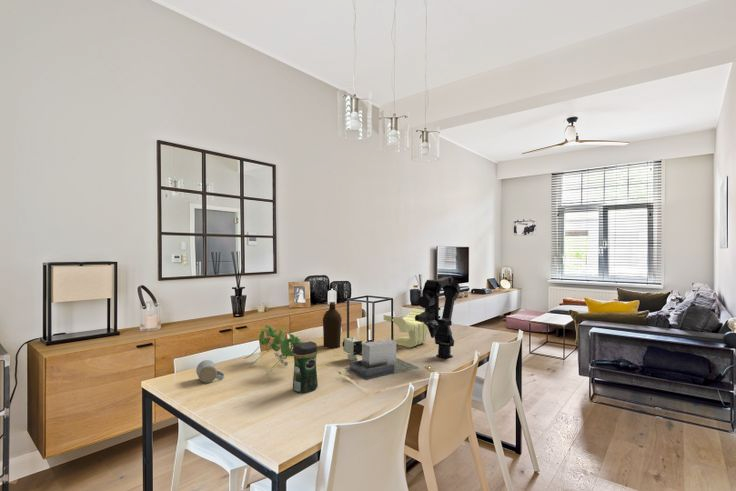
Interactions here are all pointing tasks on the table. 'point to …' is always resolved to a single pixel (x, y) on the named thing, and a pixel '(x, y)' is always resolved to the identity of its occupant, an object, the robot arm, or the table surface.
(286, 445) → the table surface
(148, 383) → the table surface
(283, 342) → the plant cuttings
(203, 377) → the ceramic mug
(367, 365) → the block
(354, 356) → the pneumatic valve
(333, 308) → the olive oil
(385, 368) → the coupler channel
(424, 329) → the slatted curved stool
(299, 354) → the coffee jar
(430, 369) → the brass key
